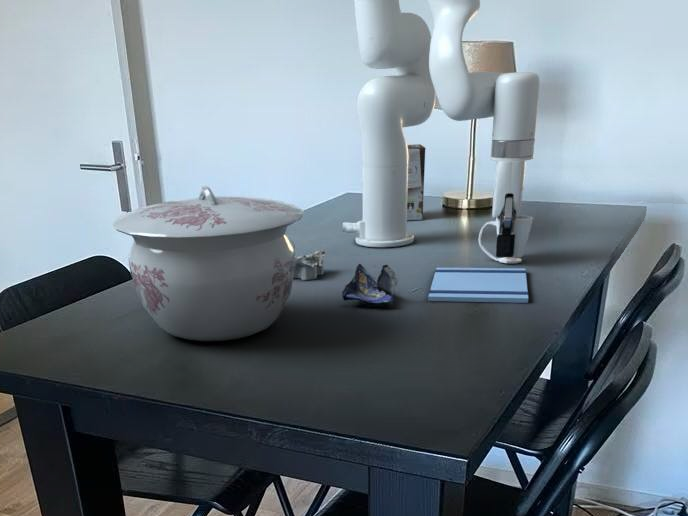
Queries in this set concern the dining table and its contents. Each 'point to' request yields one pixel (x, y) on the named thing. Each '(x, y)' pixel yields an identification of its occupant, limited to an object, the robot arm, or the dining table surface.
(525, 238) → the cup
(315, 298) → the dining table surface
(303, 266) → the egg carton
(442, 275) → the towel
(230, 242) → the chamber pot
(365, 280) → the snack package
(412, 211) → the coffee box
